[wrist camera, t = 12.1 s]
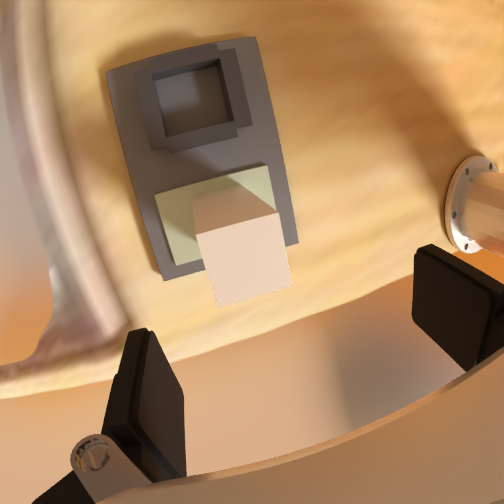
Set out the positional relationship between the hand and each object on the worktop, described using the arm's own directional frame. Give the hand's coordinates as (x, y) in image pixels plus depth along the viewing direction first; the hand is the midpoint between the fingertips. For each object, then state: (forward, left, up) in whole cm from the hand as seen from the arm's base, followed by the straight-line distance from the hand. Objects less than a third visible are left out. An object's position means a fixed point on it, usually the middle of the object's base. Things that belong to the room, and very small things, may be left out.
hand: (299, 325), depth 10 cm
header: (+1, -5, -17) cm, 18 cm away
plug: (+1, 0, -16) cm, 16 cm away
